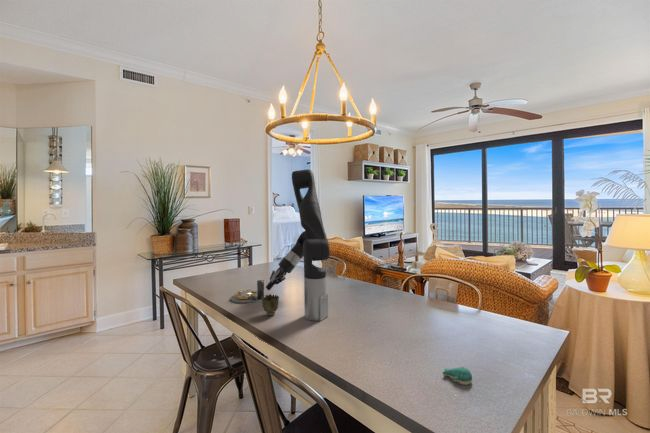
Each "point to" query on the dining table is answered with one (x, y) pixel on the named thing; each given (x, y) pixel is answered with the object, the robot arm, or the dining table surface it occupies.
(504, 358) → the dining table surface
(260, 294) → the golden ring with handle
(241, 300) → the steel flange
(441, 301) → the dining table surface
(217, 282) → the dining table surface
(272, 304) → the cup
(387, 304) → the dining table surface
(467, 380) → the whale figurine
